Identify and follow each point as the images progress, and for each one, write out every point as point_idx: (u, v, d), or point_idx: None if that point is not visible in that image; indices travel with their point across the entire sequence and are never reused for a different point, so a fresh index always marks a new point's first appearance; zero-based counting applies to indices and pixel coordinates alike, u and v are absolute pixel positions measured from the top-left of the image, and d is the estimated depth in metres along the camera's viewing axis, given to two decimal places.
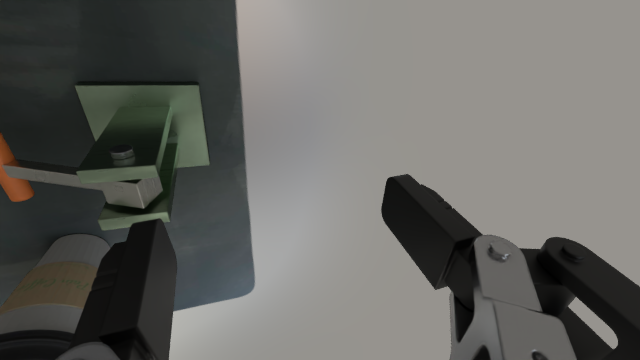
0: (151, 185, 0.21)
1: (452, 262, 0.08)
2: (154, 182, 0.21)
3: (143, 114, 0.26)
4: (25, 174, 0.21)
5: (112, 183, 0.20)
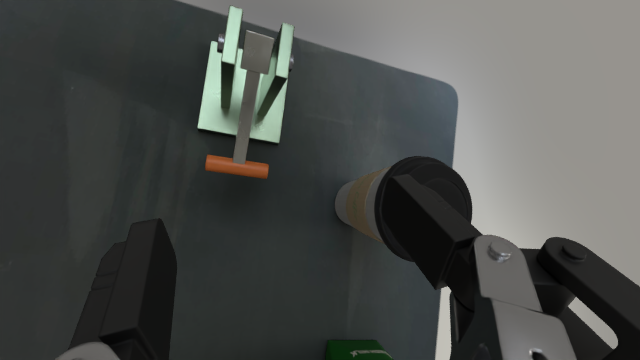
0: None
1: (452, 262, 0.08)
2: None
3: None
4: (241, 147, 0.26)
5: (245, 55, 0.22)
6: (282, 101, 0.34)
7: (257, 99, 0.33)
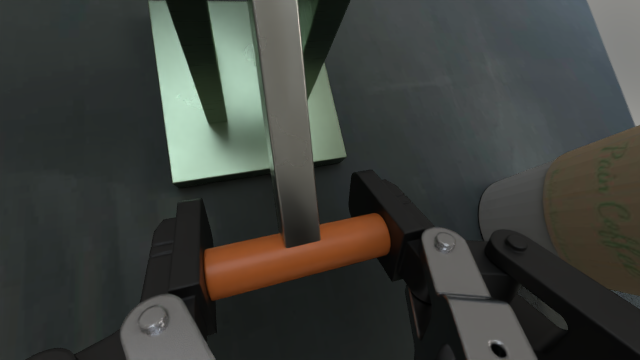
0: None
1: (404, 254, 0.09)
2: None
3: None
4: (298, 192, 0.08)
5: None
6: (323, 75, 0.17)
7: None
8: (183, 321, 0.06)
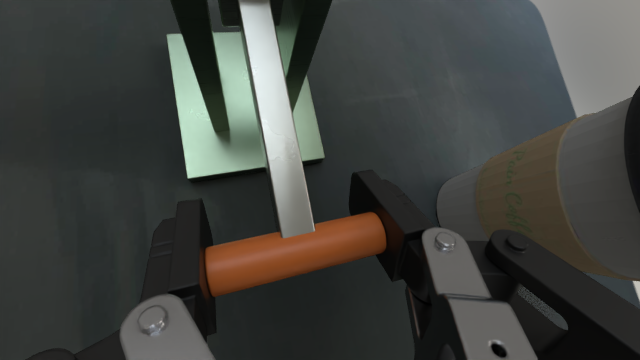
0: None
1: (404, 254, 0.09)
2: None
3: None
4: (290, 184, 0.09)
5: None
6: (306, 91, 0.21)
7: None
8: (183, 321, 0.06)
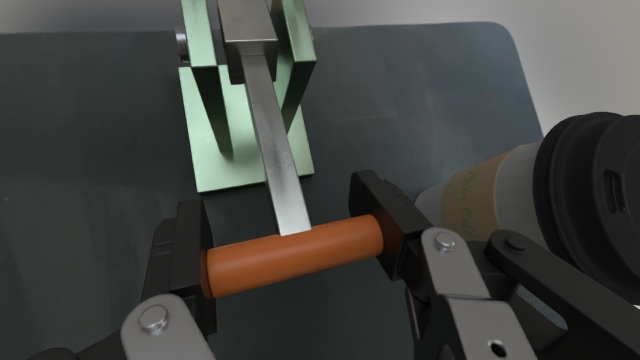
0: None
1: (404, 254, 0.09)
2: None
3: None
4: (286, 188, 0.10)
5: (227, 24, 0.12)
6: (299, 115, 0.24)
7: None
8: (184, 321, 0.06)
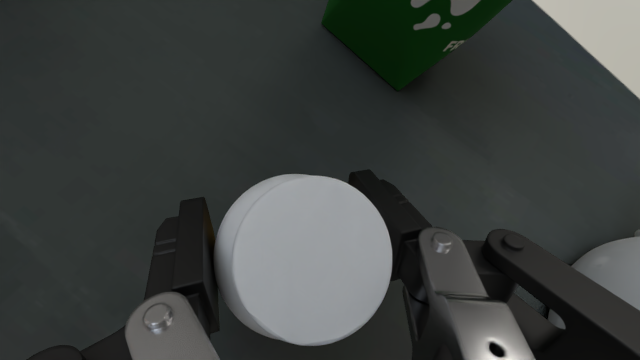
0: None
1: (401, 253, 0.09)
2: None
3: None
4: None
5: None
6: None
7: None
8: (187, 318, 0.06)
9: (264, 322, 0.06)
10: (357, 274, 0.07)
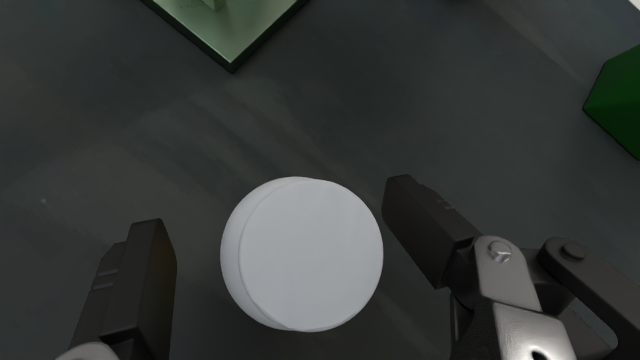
0: None
1: (452, 262, 0.08)
2: None
3: None
4: None
5: None
6: None
7: None
8: None
9: (267, 310, 0.07)
10: (351, 268, 0.08)
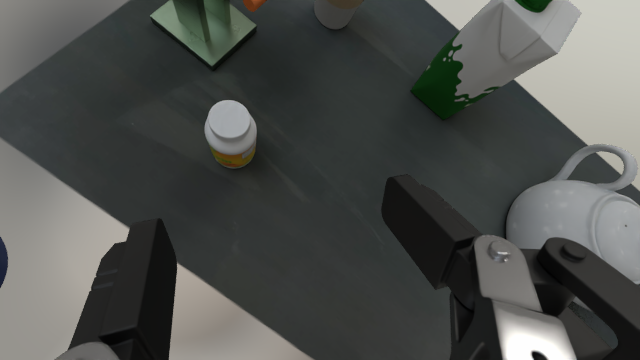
0: None
1: (452, 262, 0.08)
2: None
3: (188, 19, 0.36)
4: None
5: None
6: None
7: (214, 16, 0.39)
8: None
9: (215, 130, 0.27)
10: (239, 124, 0.28)
